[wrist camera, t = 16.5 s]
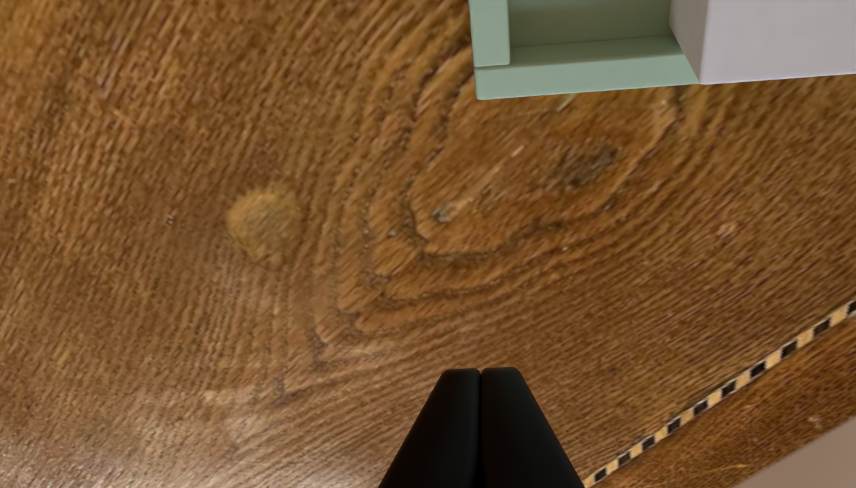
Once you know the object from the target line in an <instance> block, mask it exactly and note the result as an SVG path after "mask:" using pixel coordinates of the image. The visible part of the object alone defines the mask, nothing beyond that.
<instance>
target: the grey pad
mask: <svg viewBox="0 0 856 488" xmlns="http://www.w3.org/2000/svg"><path fill="white" fill-rule="evenodd" d="M669 25H670V28H671V30H672V32H673V33H674V35H675V37H676V39H677V41H678V43H679V45H680V47H681V49H682V51H683V53H684V55H685V56H686V58H687V60H688V62H689V64H690V66H691V68H692V70H693V72H694V74H695V76H696V78H697V79H698V81H699V83H700V84H703V85H706V84H719V83H733V82H747V81H760V80H774V79H788V78H801V77H815V76H828V75H842V74H856V0H671V4H670V16H669Z"/></svg>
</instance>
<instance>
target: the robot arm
mask: <svg viewBox="0 0 856 488" xmlns="http://www.w3.org/2000/svg"><path fill="white" fill-rule="evenodd" d="M378 488H585V487H584V485H583V483H582V482H581V480H580V478H579V476H578V474H577V473H576V471H575V469H574V467H573V466H572V464H571V462H570V460H569V458H568V457H567V455H566V453H565V451H564V450H563V448H562V446H561V444H560V442H559V441H558V439H557V437H556V435H555V434H554V432H553V430H552V428H551V426H550V425H549V423H548V421H547V419H546V418H545V416H544V414H543V412H542V410H541V409H540V407H539V405H538V403H537V401H536V400H535V398H534V396H533V394H532V393H531V391H530V389H529V387H528V385H527V384H526V382H525V380H524V378H523V377H522V375H521V373H520V372H519V371H518V369H516V368H514V367H499V368H485V369H484V370H483V371H482V372H481V374H480V372H479V370H477V369H475V368H469V369H448V370H446V371H444V372H443V373H442V375H441V376H440V378H439V380H438V382H437V383H436V385H435V387H434V389H433V390H432V392H431V394H430V396H429V398H428V399H427V401H426V403H425V405H424V406H423V408H422V410H421V412H420V414H419V415H418V417H417V419H416V421H415V422H414V424H413V426H412V428H411V430H410V431H409V433H408V435H407V437H406V438H405V440H404V442H403V444H402V446H401V447H400V449H399V451H398V453H397V454H396V456H395V458H394V460H393V462H392V463H391V465H390V467H389V469H388V470H387V472H386V474H385V476H384V478H383V479H382V481H381V483H380V485H379V486H378Z"/></svg>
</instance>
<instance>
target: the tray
mask: <svg viewBox="0 0 856 488" xmlns="http://www.w3.org/2000/svg"><path fill="white" fill-rule="evenodd" d="M468 1H469V14H470V27H471V40H472V53H473V65H474V78H475V91H476V97H477V99H479V100H485V99H498V98H512V97H526V96H539V95H553V94H566V93H580V92H593V91H607V90H620V89H634V88H647V87H661V86H675V85H688V84H700V83H699V81H698V79H697V78H696V76H695V74H694V72H693V70H692V68H691V66H690V64H689V62H688V60H687V58H686V56H685V55H684V53H683V51H682V49H681V47H680V45H679V43H678V41H677V39H676V37H675V35H674V33H673V32H672V30H671V28H670V25H669V16H670V4H671V0H468Z"/></svg>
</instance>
